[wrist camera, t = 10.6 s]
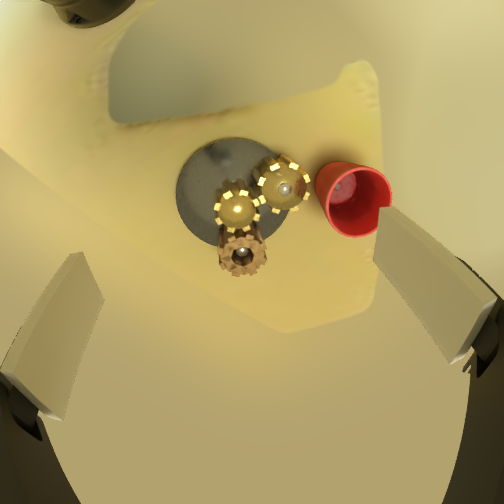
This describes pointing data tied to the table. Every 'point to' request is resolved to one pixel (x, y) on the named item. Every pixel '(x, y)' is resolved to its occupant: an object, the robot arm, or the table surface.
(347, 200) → the flower pot
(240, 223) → the carrier
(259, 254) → the gear
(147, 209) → the table surface
